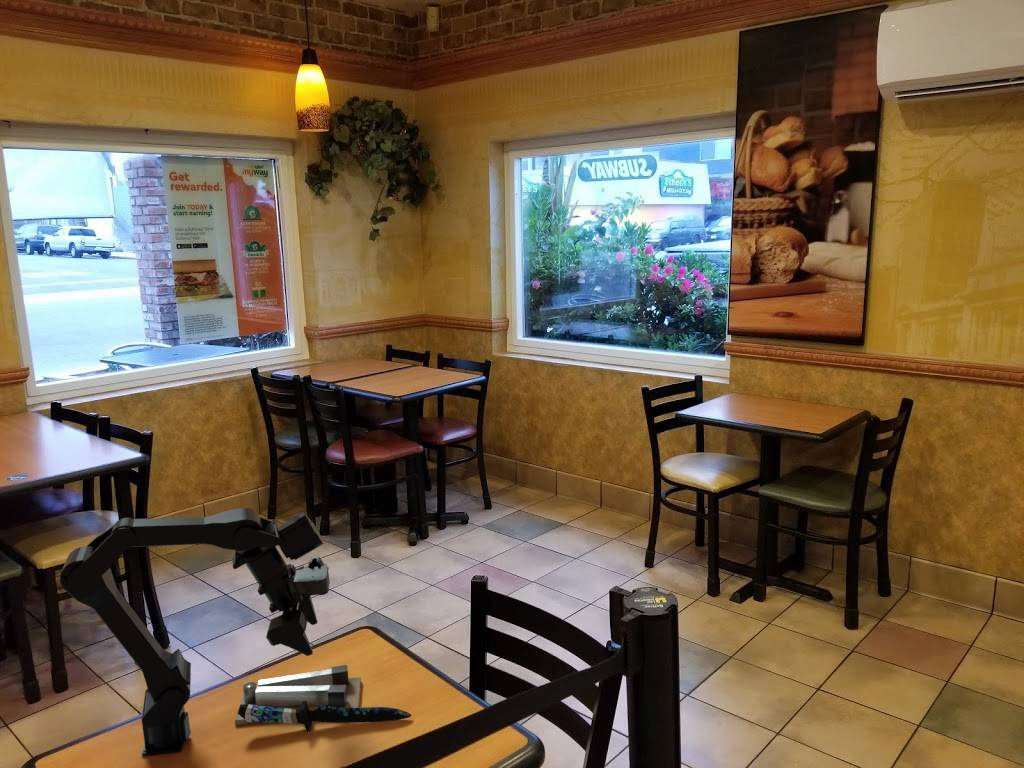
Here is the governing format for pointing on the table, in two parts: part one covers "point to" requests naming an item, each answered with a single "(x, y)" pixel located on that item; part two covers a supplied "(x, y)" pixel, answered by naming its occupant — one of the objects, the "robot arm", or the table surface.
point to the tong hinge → (249, 693)
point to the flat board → (351, 702)
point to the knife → (319, 714)
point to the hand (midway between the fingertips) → (312, 638)
